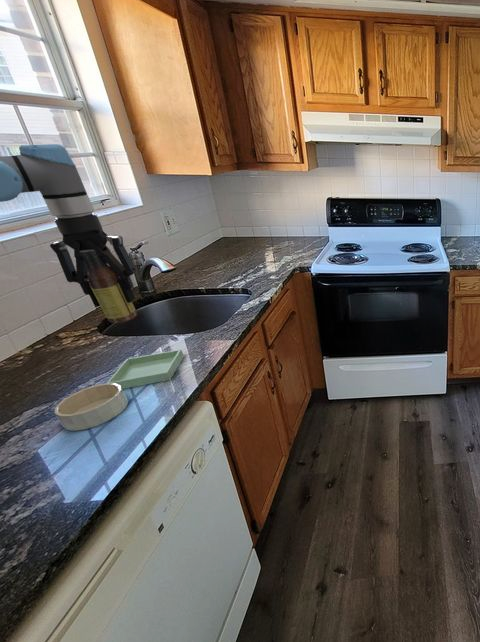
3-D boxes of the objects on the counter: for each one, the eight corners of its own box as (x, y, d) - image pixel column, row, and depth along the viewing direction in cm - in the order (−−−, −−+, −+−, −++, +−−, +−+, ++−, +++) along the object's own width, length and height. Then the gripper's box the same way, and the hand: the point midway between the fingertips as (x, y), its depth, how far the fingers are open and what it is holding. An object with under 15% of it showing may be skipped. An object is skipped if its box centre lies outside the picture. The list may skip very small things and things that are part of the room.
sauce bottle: (125, 313, 102) (95, 244, 94) (143, 314, 101) (114, 245, 92) (101, 323, 96) (66, 251, 88) (120, 325, 95) (86, 252, 87)
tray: (109, 391, 99) (105, 384, 98) (129, 365, 110) (126, 358, 109) (170, 379, 103) (167, 372, 102) (183, 355, 114) (181, 349, 113)
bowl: (51, 436, 84) (41, 421, 82) (80, 403, 95) (72, 389, 93) (115, 422, 88) (107, 408, 86) (136, 392, 98) (129, 378, 96)
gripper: (129, 208, 93) (163, 291, 102) (33, 215, 87) (78, 303, 97) (116, 214, 86) (153, 302, 96) (11, 222, 81) (62, 314, 91)
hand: (115, 302), depth 96 cm, fingers closed on sauce bottle, 6 cm apart
